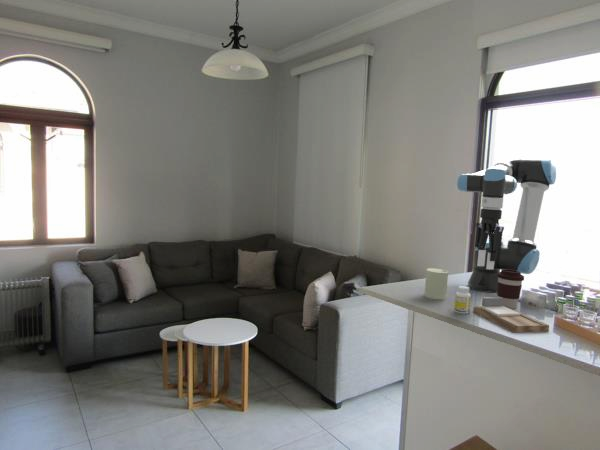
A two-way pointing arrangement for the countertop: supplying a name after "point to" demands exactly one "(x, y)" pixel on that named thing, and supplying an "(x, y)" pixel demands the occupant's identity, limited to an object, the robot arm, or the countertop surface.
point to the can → (436, 283)
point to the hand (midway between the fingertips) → (485, 267)
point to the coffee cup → (509, 287)
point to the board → (514, 321)
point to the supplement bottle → (462, 300)
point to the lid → (497, 307)
